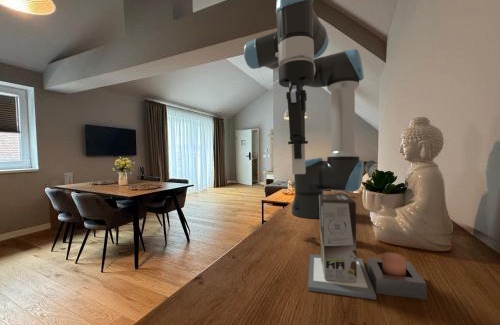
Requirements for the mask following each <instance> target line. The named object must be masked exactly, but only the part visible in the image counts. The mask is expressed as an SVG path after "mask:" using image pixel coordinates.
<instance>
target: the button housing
mask: <svg viewBox="0 0 500 325" xmlns="http://www.w3.org/2000/svg"><path fill="white" fill-rule="evenodd" d="M366 265H367V273H368V276H369V278H370V281H371V284H372V286H373V289H374V291H375V294H379V295H380V294H381V295H385V296H386V295H387V296H393V297H395V296H396V297H404V298H411V299H417V300H418V299H419V300H427V297H428V296H427V292H428V291H427V289H428V288H427V287H428V286H427V282H426V281H425V280H424V278H423V277H422V276H421V274H420V273H419V272H418V271H417V269H416V268H415V267H414V266H413V264H412V263H411V262H410V261H409V260H408V261H407V260H406V277H401V276H392V275H384V274H383V273H382V258H372V257H367V264H366Z"/></svg>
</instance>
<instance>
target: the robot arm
mask: <svg viewBox="0 0 500 325" xmlns="http://www.w3.org/2000/svg"><path fill="white" fill-rule="evenodd" d="M313 2H314V0H276V3H275V4H276V5H275V15H276V28H277V29H276V31H274V32H271V33H267V34H265V35H262V36H259V37H256V38H254V39H251V40H250V41H247V42H246V43H245V44H244V47H243V57H244V61H245V64H247V66H248V67H249V68H250V69H261V68H263V67H265V68H268V69H270V70H273V71H275V72H277V73H278V84H279V85H280V86H281V87H283V88H288V91H287V92H286V93H285V94H286V95H285V96H286V98H285V99H286V100H287V111H288V126H289V140H290V141H287V144H288V145H291V165H292V166H291V167H292V168H291V169H292V172H291V173H292V175H293V176H294V178H293V179H294V198H293V201H292V204H291V214H292V215H294V216H295V217H299V218H305V219H316V218H319V219H320V212H319V195H324V191H339V192H340V191H341V192H357V191H359V189H361V186H362V183H363V177H364V173H365V172H364V170H365V162H364V161H363V160H360V155H359V154H357V153H356V119H355V118H356V111H355V110H356V104H355V103H356V102H355V99H356V97H355V96H356V94H355V91H356V90H357V88H359V86H360V81H362V80H364V69H363V63H362V57H361V54H360V52H359V50H358V49H356V48H353V49H347V50H344V51H340V52H336V53H332V54H329V55H326V56H322V55H323V54H324V53H325V52H326V51H327V49H328V46H329V41H330V40H329V34H328V33H327V30H326V27H325V26H324V25H323V24H322V23H321V21H320V20H319V18H318V15H317V14H316V12H315V11H314V8H313ZM304 87H309V88H310V87H311V88H325V87H327V88H326V89H327V91H328V92H329V93H330V101H331V102H330V104H331V105H330V107H331V109H330V113H331V114H330V116H331V117H330V124H331V125H330V133H331V134H330V136H331V138H330V140H331V141H330V142H331V145H330V146H331V147H330V148H331V149H330V150H331V151H330V153H329V154H328V155H327V156H326V158H327V159H326V160H323V158H322V157H316V158H310V159H306V145H307V144H308V143H309V141H308V140H306V139H307V138H306V115H305V114H306V112H307V106H306V105H307V104H306V102H307V100H308V97H307V96H308V95H307V92H306V89H304Z"/></svg>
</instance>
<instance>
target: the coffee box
mask: <svg viewBox="0 0 500 325" xmlns="http://www.w3.org/2000/svg"><path fill="white" fill-rule="evenodd" d="M356 209H357V203H356V201H354V200H353V198H351V197H350V196H349V195H348V194H347V193H328V194H323V195H319V212H320V218H319V234H320V243H319V244H320V255H321V263H322V268H323V273H324V279H325V280H332V281H343V282H353V283H356V282H357V266H356V258H357V210H356Z"/></svg>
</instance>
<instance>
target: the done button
mask: <svg viewBox="0 0 500 325" xmlns="http://www.w3.org/2000/svg"><path fill="white" fill-rule="evenodd" d="M381 257H382V258H381V259H382V273H383V274H384V275H392V276H401V277H406V261H407V259H406V257H405V256H403V255H402V254H399V253H395V252H384V253H382V254H381Z"/></svg>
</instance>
